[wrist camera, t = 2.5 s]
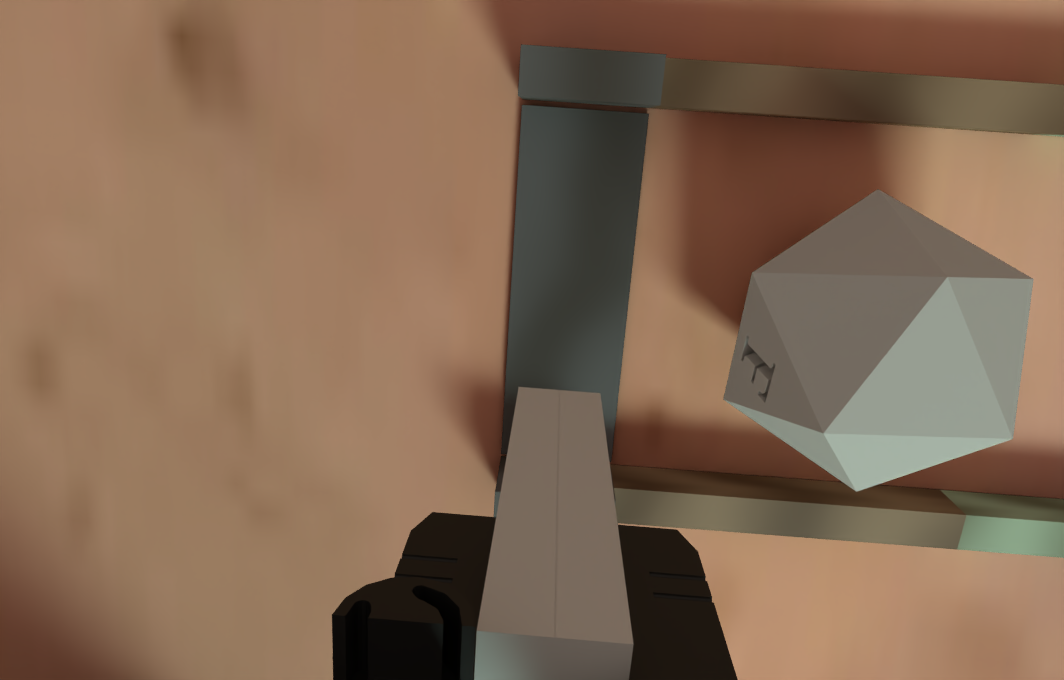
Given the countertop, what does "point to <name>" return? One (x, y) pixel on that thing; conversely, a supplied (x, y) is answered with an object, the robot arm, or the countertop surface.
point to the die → (882, 345)
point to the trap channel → (607, 256)
